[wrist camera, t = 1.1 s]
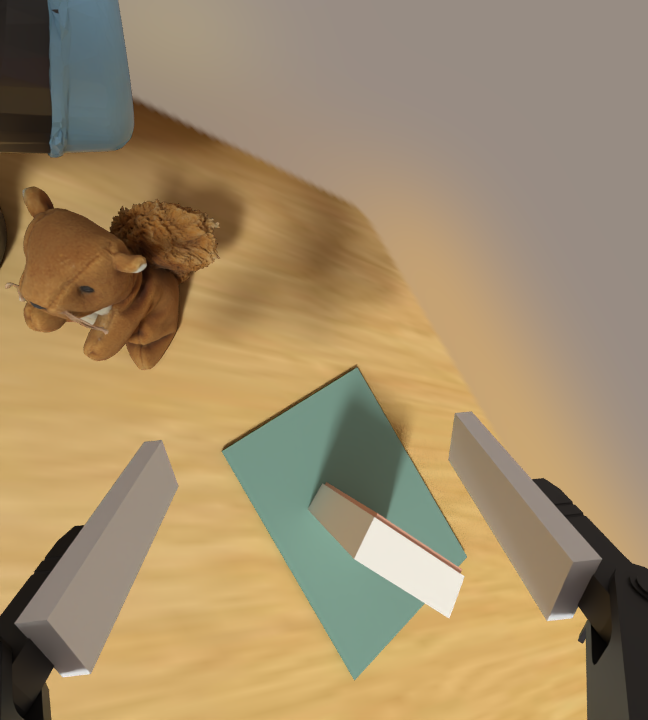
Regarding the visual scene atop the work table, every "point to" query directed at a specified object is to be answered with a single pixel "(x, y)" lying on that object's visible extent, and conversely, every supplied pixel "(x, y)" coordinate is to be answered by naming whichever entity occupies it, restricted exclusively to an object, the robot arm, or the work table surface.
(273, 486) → the mat
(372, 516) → the card box
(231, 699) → the work table surface
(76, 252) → the stuffed squirrel
